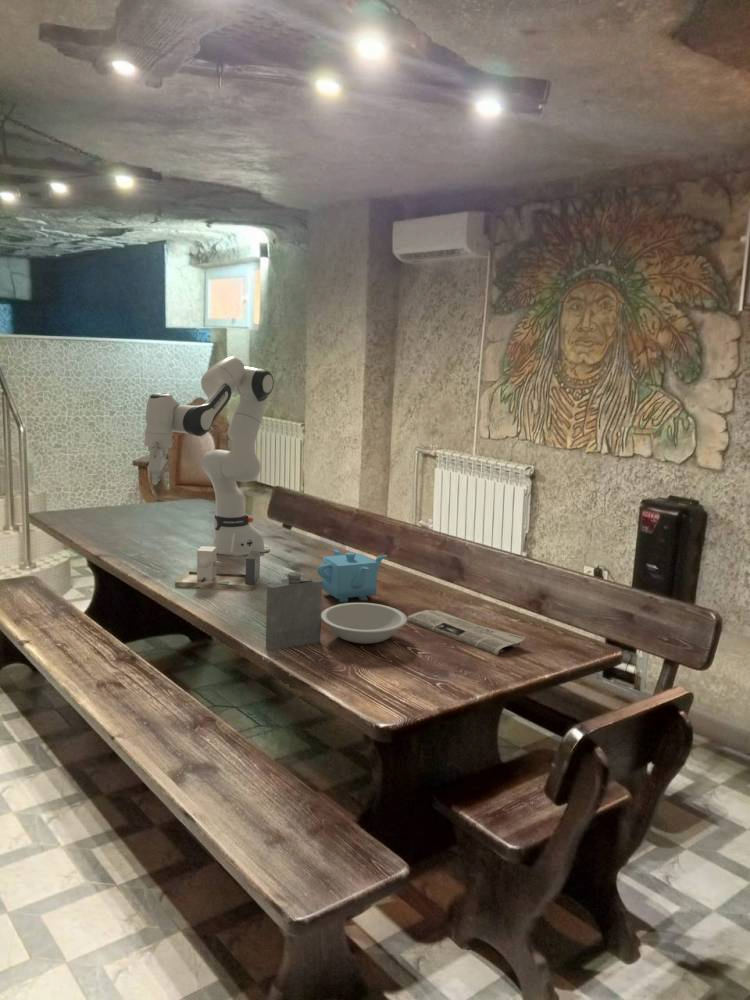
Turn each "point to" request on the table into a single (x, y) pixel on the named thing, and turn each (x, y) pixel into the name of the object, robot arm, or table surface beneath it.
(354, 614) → the soup bowl
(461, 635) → the newspaper
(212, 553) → the block
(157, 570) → the table surface
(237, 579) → the board
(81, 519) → the table surface
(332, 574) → the teakettle
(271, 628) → the hip flask
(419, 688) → the table surface
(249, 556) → the dark grey slab
